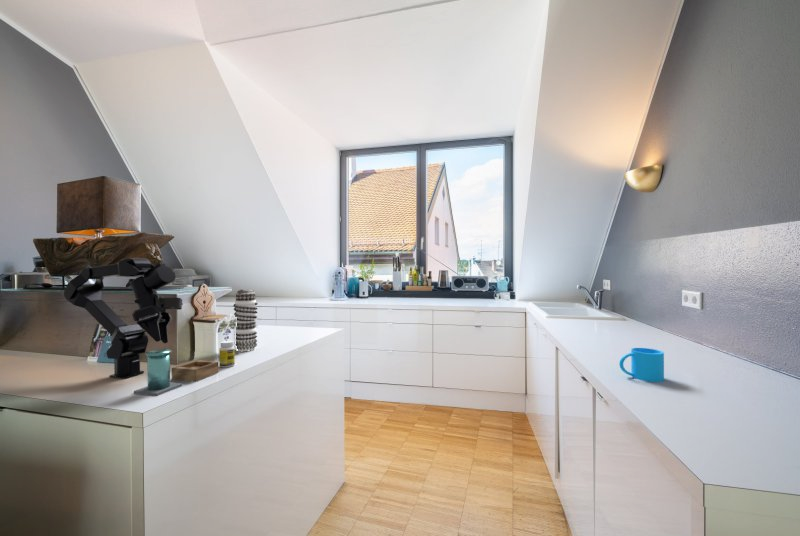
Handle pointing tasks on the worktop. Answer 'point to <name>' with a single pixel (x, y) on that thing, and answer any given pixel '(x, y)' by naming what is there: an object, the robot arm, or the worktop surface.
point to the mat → (157, 392)
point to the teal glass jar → (158, 369)
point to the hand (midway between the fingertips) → (162, 342)
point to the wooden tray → (195, 370)
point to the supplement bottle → (226, 354)
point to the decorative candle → (245, 319)
